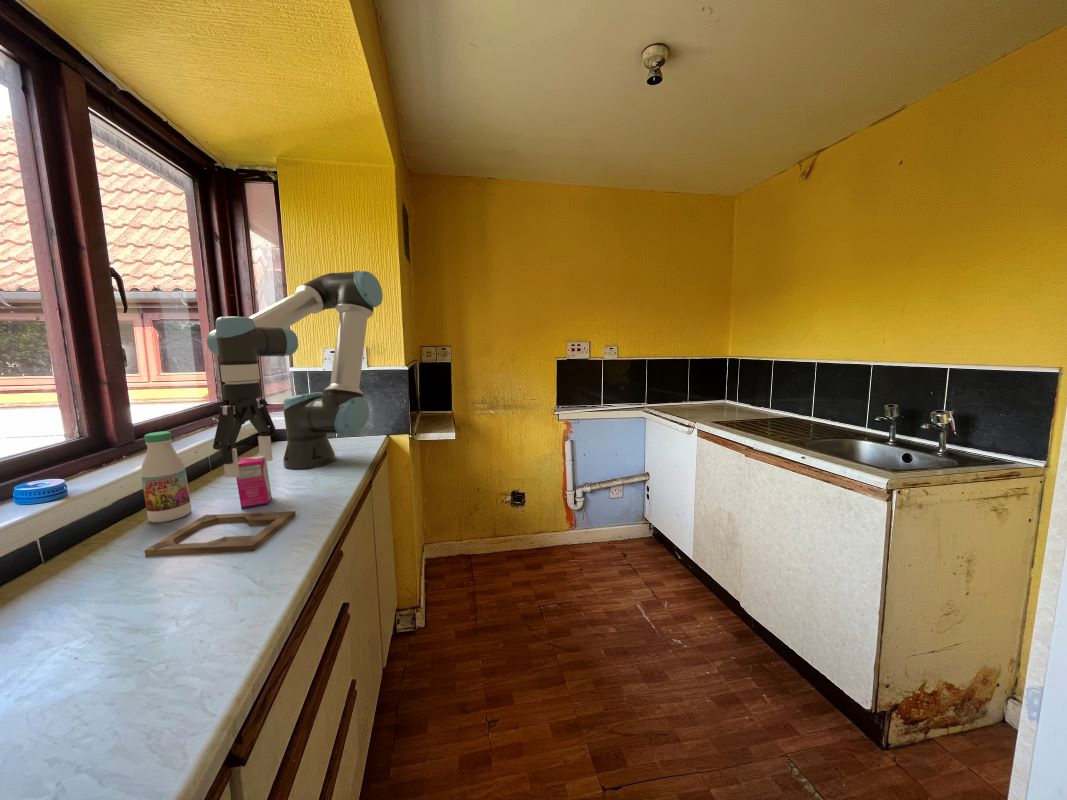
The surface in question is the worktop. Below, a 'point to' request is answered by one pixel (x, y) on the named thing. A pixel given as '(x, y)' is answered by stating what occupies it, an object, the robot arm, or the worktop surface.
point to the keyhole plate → (226, 543)
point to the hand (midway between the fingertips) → (250, 468)
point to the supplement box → (253, 482)
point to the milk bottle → (164, 480)
